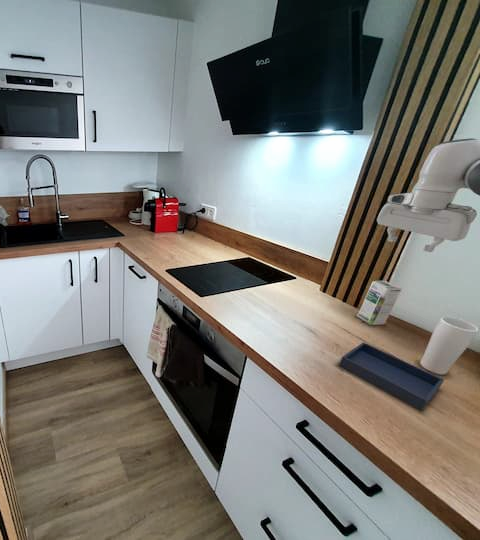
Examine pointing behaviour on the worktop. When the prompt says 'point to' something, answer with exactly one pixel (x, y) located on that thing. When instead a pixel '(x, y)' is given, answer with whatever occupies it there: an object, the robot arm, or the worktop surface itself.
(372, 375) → the tray
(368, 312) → the syrup box
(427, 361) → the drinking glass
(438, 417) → the worktop surface
